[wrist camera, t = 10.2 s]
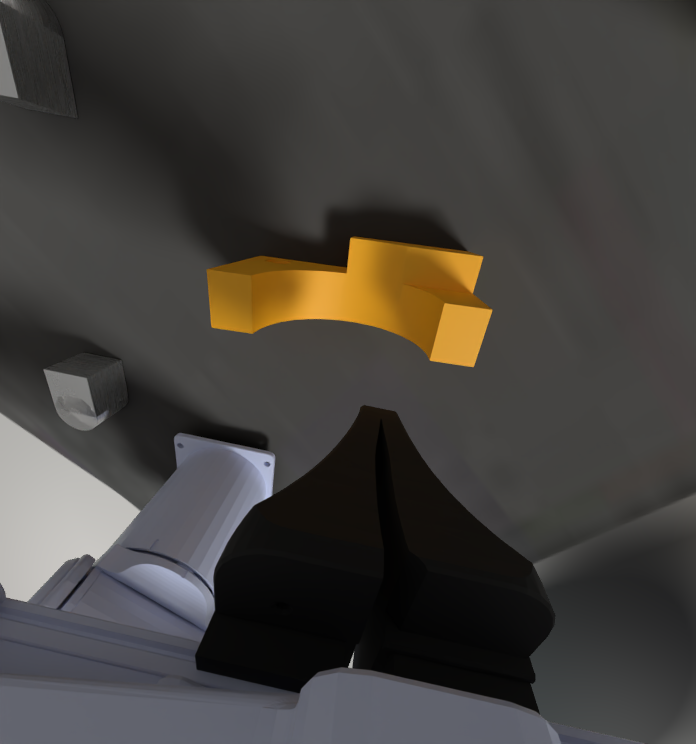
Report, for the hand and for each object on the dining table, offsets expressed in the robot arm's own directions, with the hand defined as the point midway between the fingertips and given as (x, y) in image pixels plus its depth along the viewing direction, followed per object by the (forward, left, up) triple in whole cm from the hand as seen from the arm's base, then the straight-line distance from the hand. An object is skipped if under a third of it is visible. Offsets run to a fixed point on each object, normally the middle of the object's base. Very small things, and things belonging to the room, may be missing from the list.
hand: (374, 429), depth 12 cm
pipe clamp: (+4, +2, -10) cm, 11 cm away
